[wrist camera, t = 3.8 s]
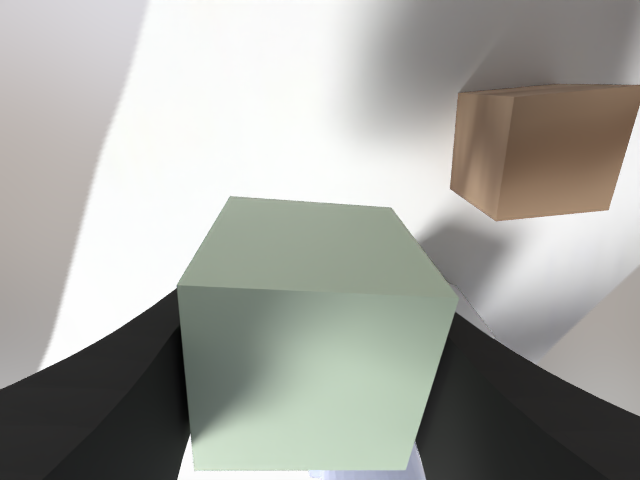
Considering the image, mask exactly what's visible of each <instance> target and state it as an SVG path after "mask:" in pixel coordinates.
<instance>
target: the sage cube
mask: <svg viewBox="0 0 640 480" xmlns="http://www.w3.org/2000/svg"><path fill="white" fill-rule="evenodd" d="M177 294H178V304H179V315H180V325H181V336H182V346H183V357H184V368H185V378H186V389H187V399H188V410H189V420H190V431H191V442H192V452H193V463H194V471H277V470H406V467H407V464H408V461H409V458H410V455H411V451H412V448H413V445H414V442H415V439H416V435H417V432H418V429H419V426H420V423H421V419H422V416H423V413H424V410H425V406H426V403H427V400H428V397H429V394H430V390H431V387H432V384H433V381H434V378H435V374H436V371H437V368H438V365H439V362H440V358H441V355H442V352H443V349H444V346H445V342H446V339H447V336H448V333H449V329H450V326H451V323H452V320H453V317H454V313H455V310H456V307H457V304H458V301H459V297H458V296H457V295H456V293H455V292H454V291H453V289H452V288H451V287H450V285H449V284H448V283H447V281H446V280H445V279H444V277H443V276H442V275H441V273H440V272H439V271H438V269H437V268H436V267H435V265H434V264H433V263H432V261H431V260H430V259H429V257H428V256H427V255H426V253H425V252H424V251H423V249H422V248H421V247H420V245H419V244H418V243H417V241H416V240H415V239H414V237H413V236H412V235H411V233H410V232H409V231H408V229H407V228H406V227H405V225H404V224H403V223H402V221H401V220H400V219H399V217H398V216H397V215H396V213H395V212H394V211H393V209H392V208H389V207H375V206H361V205H347V204H333V203H318V202H304V201H290V200H276V199H262V198H247V197H233V196H230V197H229V199H228V201H227V202H226V204H225V206H224V207H223V209H222V211H221V212H220V214H219V216H218V217H217V219H216V221H215V222H214V224H213V226H212V227H211V229H210V231H209V232H208V234H207V236H206V237H205V239H204V241H203V242H202V244H201V246H200V247H199V249H198V251H197V252H196V254H195V256H194V257H193V259H192V261H191V262H190V264H189V266H188V267H187V269H186V271H185V272H184V274H183V276H182V277H181V279H180V280H179V282H178V284H177Z"/></svg>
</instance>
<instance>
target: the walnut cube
mask: <svg viewBox="0 0 640 480" xmlns="http://www.w3.org/2000/svg"><path fill="white" fill-rule="evenodd" d="M639 106H640V85H608V84H549V85H539V86H528V87H517V88H506V89H495V90H484V91H473V92H463V93H458V101H457V113H456V125H455V136H454V148H453V160H452V172H451V183H450V189H451V190H452V191H454V192H455V193H457V194H458V195H459V196H461V197H462V198H464V199H465V200H467V201H468V202H469V203H471V204H472V205H474V206H475V207H476V208H478V209H479V210H481V211H482V212H483V213H485V214H486V215H488V216H489V217H490V218H492V219H493V220H495V221H503V220H513V219H523V218H534V217H544V216H554V215H564V214H574V213H584V212H594V211H604V210H609V206H610V203H611V200H612V196H613V193H614V190H615V186H616V183H617V180H618V176H619V173H620V169H621V166H622V163H623V159H624V156H625V153H626V149H627V146H628V143H629V139H630V136H631V133H632V129H633V126H634V122H635V119H636V116H637V112H638V109H639Z"/></svg>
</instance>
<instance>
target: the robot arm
mask: <svg viewBox="0 0 640 480" xmlns="http://www.w3.org/2000/svg"><path fill="white" fill-rule="evenodd" d="M190 433H191V431H190V420H189V410H188V399H187V389H186V378H185V368H184V357H183V346H182V336H181V325H180V315H179V304H178V294H177V288H176V289H175V290H174V291H172V292H171V293H170V294H168V295H167V296H166V297H164V298H163V299H161V300H160V301H159V302H157V303H156V304H155V305H153V306H152V307H151V308H149V309H148V310H146V311H145V312H143V313H142V314H140V315H139V316H137V317H136V318H134V319H133V320H131V321H130V322H128V323H127V324H125V325H124V326H122V327H121V328H119V329H117V330H116V331H114V332H113V333H111V334H109V335H108V336H106V337H104V338H103V339H101V340H99V341H97V342H96V343H94V344H92V345H90V346H88V347H87V348H85V349H83V350H81V351H79V352H78V353H76V354H74V355H72V356H70V357H68V358H66V359H64V360H62V361H60V362H58V363H56V364H54V365H52V366H50V367H47V368H45V369H43V370H41V371H39V372H37V373H35V374H33V375H31V376H29V377H27V378H25V379H23V380H21V381H18V382H16V383H14V384H12V385H10V386H7V387H5V388H3V389H0V480H177V478H178V474H179V470H180V466H181V462H182V459H183V455H184V452H185V449H186V445H187V442H188V439H189V436H190ZM415 441H416V444H417V447H418V451H419V454H420V457H421V460H420V457H419V454H418V451H417V448H416V445H415V442H414V445H413V448H412V451H411V455H410V458H409V461H408V464H407V467H406V470H309V476H310V477H313V478H321V480H640V416H638V415H635V414H633V413H631V412H628V411H626V410H624V409H622V408H620V407H617V406H615V405H613V404H611V403H609V402H607V401H604V400H602V399H600V398H598V397H596V396H594V395H592V394H590V393H588V392H586V391H584V390H582V389H580V388H578V387H576V386H574V385H572V384H570V383H568V382H566V381H564V380H562V379H560V378H559V377H557V376H555V375H553V374H551V373H549V372H547V371H546V370H544V369H542V368H540V367H539V366H537V365H535V364H534V363H532V362H530V361H528V360H527V359H525V358H523V357H522V356H520V355H518V354H517V353H515V352H513V351H512V350H510V349H509V348H507V347H505V346H504V345H502V344H501V343H499V342H498V341H496V340H495V339H493V338H492V337H490V336H489V335H487V334H486V333H484V332H483V331H482V330H480V329H479V328H477V327H476V326H474V325H473V324H472V323H470V322H469V321H468V320H466V319H465V318H463V317H462V316H461V315H459V314H458V313H457V312H455V313H454V317H453V320H452V323H451V326H450V329H449V333H448V336H447V339H446V342H445V346H444V349H443V352H442V355H441V358H440V362H439V365H438V368H437V371H436V374H435V378H434V381H433V384H432V387H431V390H430V394H429V397H428V400H427V403H426V406H425V410H424V413H423V416H422V419H421V423H420V426H419V429H418V432H417V435H416V439H415ZM421 461H422V463H421ZM422 465H423V466H422ZM423 469H424V470H423Z"/></svg>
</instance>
